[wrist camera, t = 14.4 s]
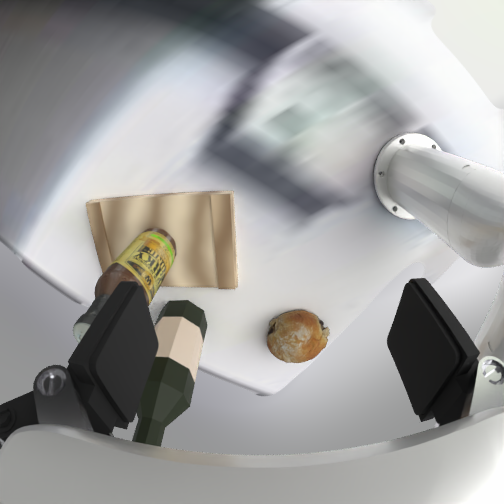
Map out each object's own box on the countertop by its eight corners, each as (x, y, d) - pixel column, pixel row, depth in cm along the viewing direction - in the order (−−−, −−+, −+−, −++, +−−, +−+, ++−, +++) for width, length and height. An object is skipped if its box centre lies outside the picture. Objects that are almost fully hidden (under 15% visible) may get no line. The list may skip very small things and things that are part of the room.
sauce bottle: (186, 257, 39) (138, 366, 21) (150, 269, 40) (92, 370, 22) (166, 217, 36) (94, 310, 19) (130, 232, 37) (52, 321, 20)
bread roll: (285, 292, 48) (265, 316, 41) (340, 315, 44) (329, 344, 38) (271, 333, 52) (253, 359, 45) (320, 354, 49) (307, 384, 42)
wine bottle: (202, 340, 49) (170, 500, 22) (158, 327, 48) (104, 480, 21) (212, 307, 45) (176, 491, 18) (163, 293, 44) (93, 464, 17)
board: (233, 190, 36) (232, 194, 34) (238, 281, 42) (237, 289, 41) (90, 200, 37) (84, 204, 35) (109, 279, 43) (105, 285, 41)
